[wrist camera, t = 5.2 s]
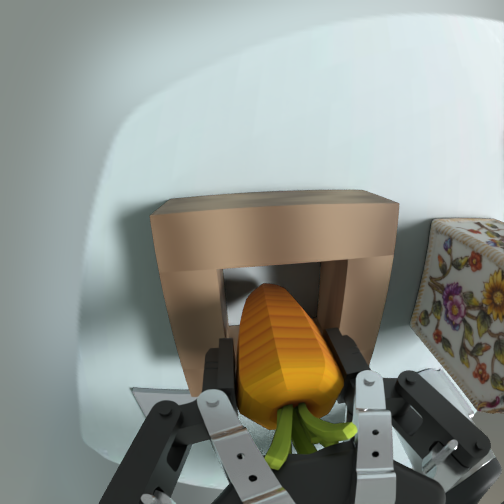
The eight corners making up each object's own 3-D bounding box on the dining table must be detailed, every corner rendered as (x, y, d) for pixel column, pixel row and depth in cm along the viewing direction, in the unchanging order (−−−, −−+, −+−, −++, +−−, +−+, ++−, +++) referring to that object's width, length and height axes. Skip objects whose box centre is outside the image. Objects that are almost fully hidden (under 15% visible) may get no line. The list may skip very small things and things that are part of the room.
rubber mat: (224, 389, 25) (224, 393, 24) (233, 435, 28) (233, 438, 28) (133, 387, 24) (132, 391, 24) (158, 433, 28) (158, 437, 27)
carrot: (222, 267, 19) (214, 481, 5) (289, 247, 19) (390, 437, 5) (242, 321, 21) (259, 510, 7) (302, 304, 21) (375, 481, 7)
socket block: (363, 190, 19) (399, 203, 14) (346, 340, 24) (365, 376, 19) (169, 199, 18) (149, 215, 13) (196, 355, 23) (191, 397, 18)
